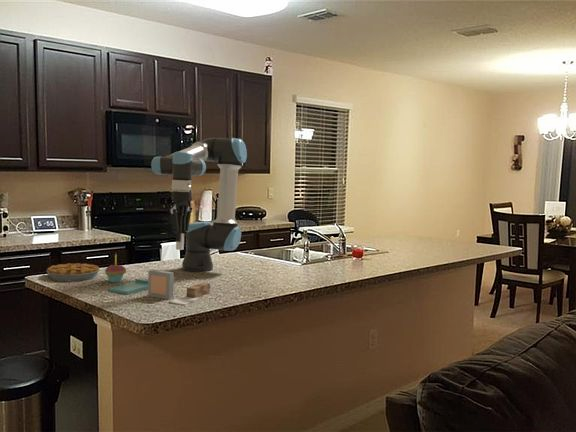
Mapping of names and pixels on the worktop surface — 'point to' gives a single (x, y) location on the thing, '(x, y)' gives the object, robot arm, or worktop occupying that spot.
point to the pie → (72, 272)
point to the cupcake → (115, 272)
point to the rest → (131, 287)
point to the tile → (160, 284)
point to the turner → (193, 294)
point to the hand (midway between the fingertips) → (179, 249)
